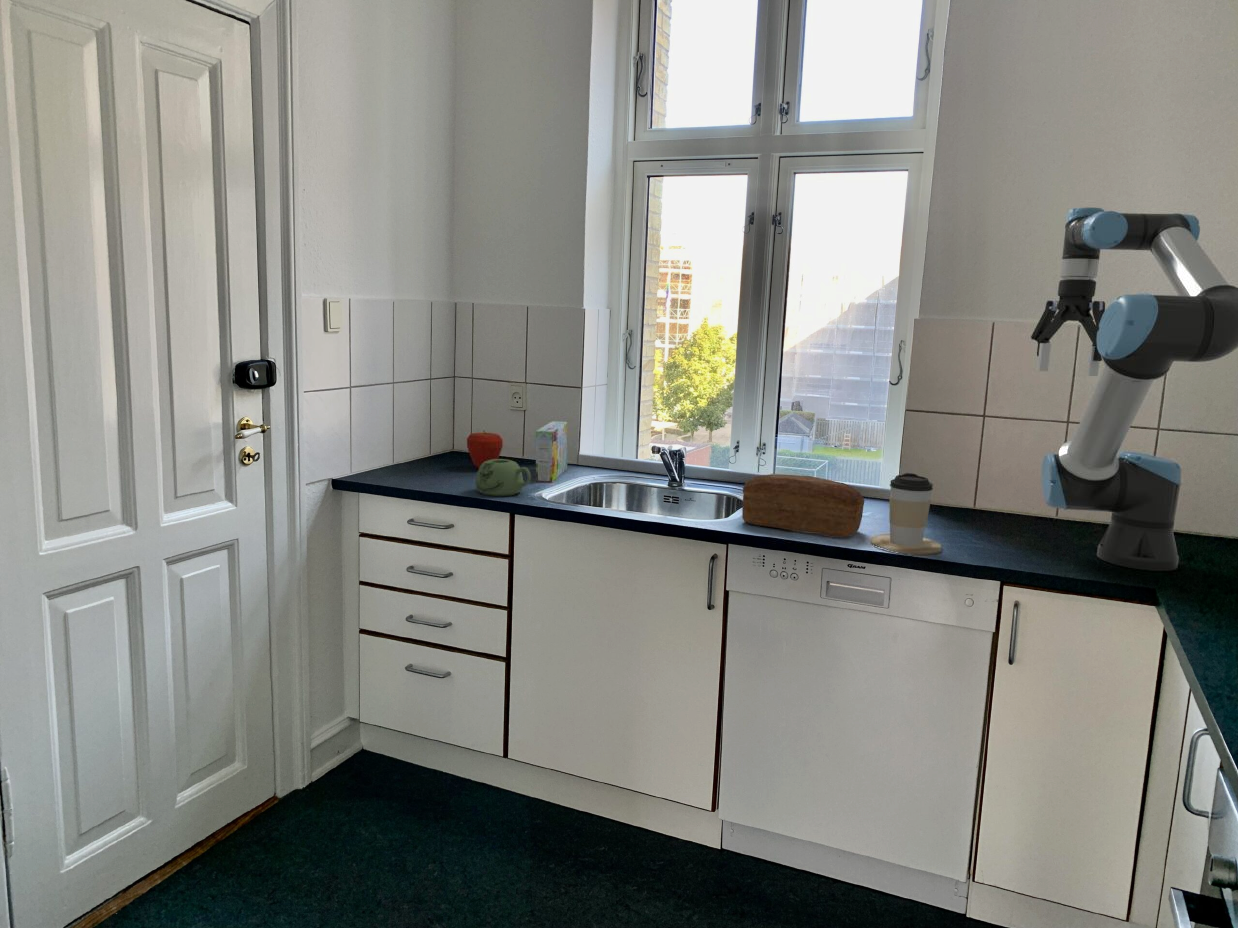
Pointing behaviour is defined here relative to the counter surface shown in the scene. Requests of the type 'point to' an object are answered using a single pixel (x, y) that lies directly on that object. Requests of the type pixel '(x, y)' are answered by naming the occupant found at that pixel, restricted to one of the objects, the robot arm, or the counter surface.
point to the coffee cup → (909, 508)
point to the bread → (802, 504)
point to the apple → (484, 447)
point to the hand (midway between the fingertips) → (1066, 373)
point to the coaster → (925, 549)
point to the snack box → (551, 451)
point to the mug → (501, 477)
